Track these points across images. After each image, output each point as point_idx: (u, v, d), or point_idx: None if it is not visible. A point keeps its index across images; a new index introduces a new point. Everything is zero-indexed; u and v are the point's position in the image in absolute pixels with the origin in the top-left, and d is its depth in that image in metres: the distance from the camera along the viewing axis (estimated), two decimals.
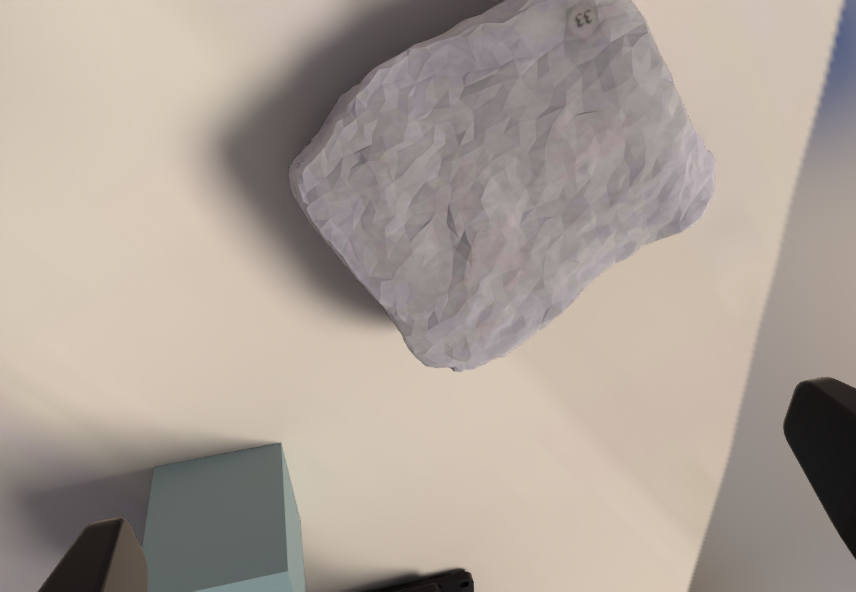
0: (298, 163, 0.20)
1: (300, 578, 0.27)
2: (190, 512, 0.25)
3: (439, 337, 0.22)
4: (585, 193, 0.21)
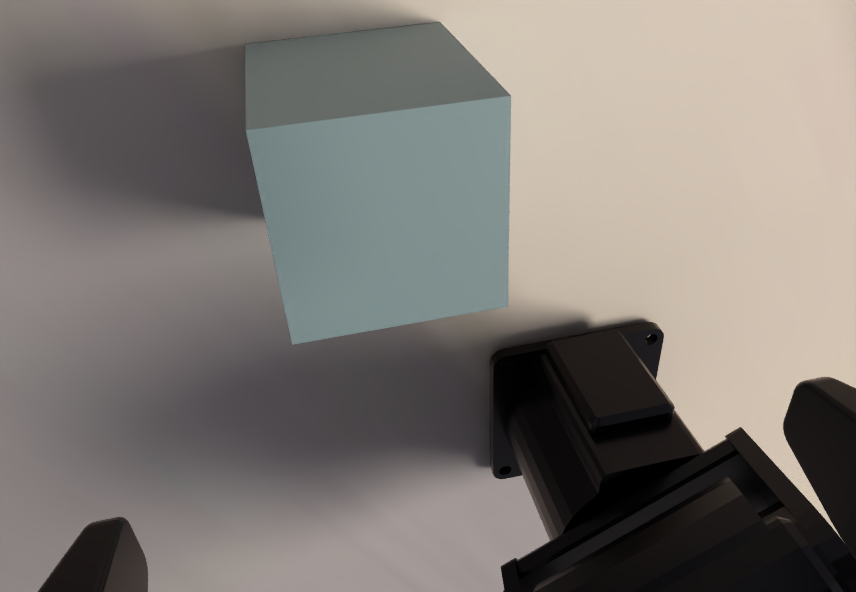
0: None
1: None
2: (318, 67, 0.15)
3: None
4: None
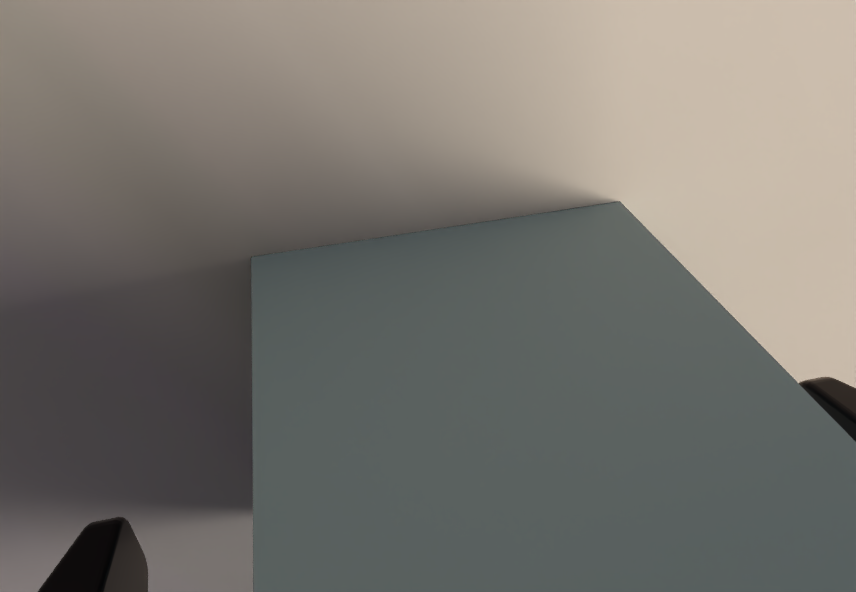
0: None
1: None
2: (414, 367, 0.07)
3: None
4: None
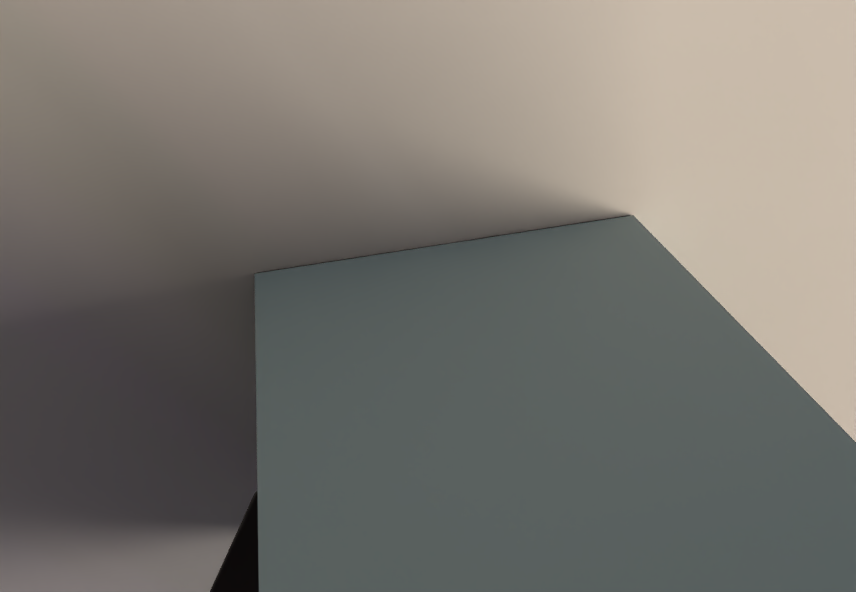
0: None
1: None
2: (425, 396, 0.07)
3: None
4: None
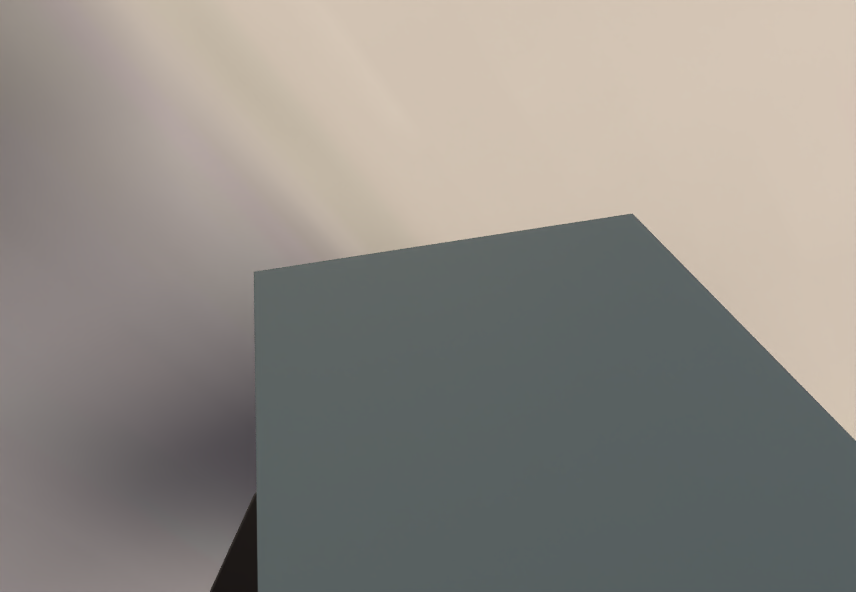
0: None
1: None
2: (425, 393, 0.07)
3: None
4: None
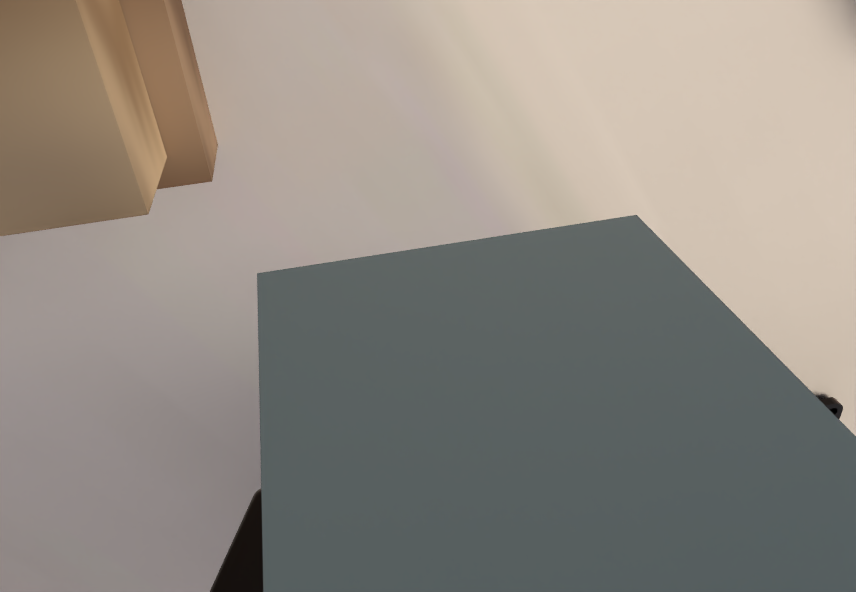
0: None
1: None
2: (430, 396, 0.07)
3: None
4: None
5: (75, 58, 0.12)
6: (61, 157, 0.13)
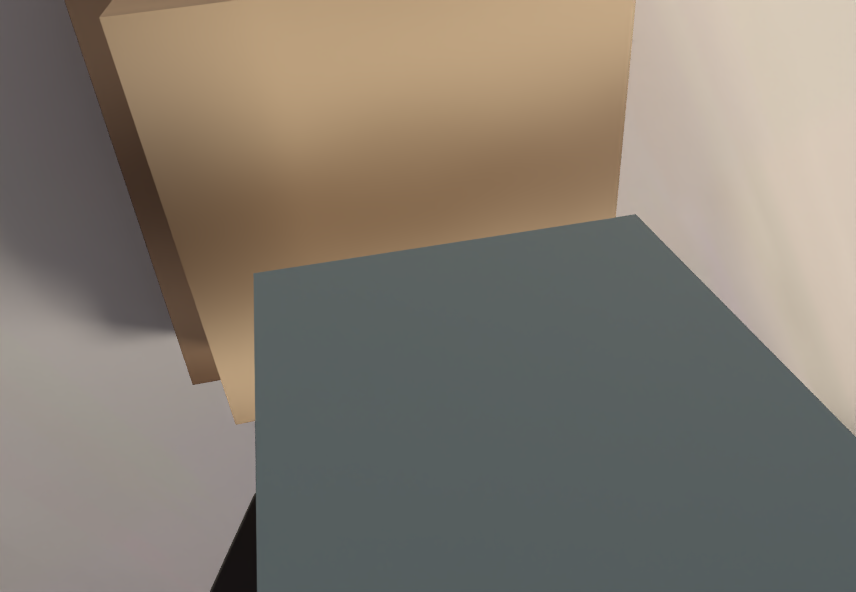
0: None
1: None
2: (426, 397, 0.06)
3: None
4: None
5: None
6: None
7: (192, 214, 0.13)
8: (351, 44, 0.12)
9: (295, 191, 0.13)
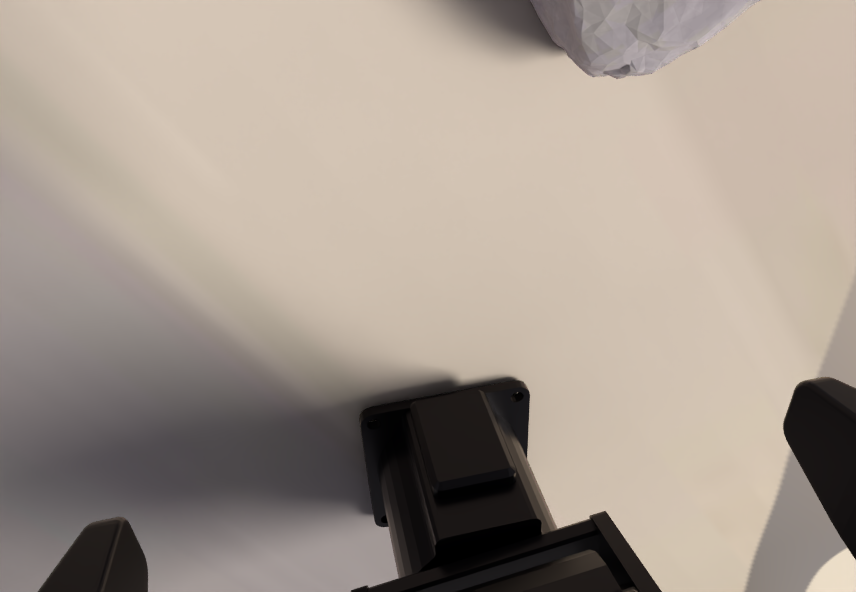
0: None
1: None
2: None
3: None
4: None
5: None
6: None
7: None
8: None
9: None
